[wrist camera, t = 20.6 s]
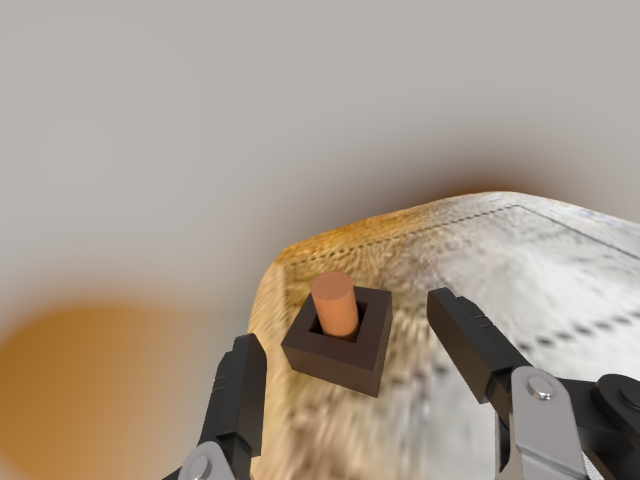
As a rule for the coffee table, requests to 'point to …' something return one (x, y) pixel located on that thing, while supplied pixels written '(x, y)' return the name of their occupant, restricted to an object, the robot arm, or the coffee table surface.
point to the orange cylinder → (336, 305)
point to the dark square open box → (343, 344)
